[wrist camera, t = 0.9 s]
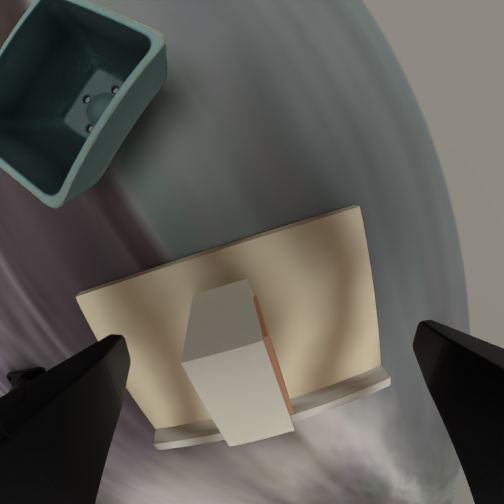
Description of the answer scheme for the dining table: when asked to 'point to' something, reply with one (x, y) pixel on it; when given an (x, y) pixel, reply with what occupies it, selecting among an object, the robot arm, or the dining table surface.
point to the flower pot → (73, 93)
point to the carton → (236, 365)
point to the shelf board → (274, 312)
